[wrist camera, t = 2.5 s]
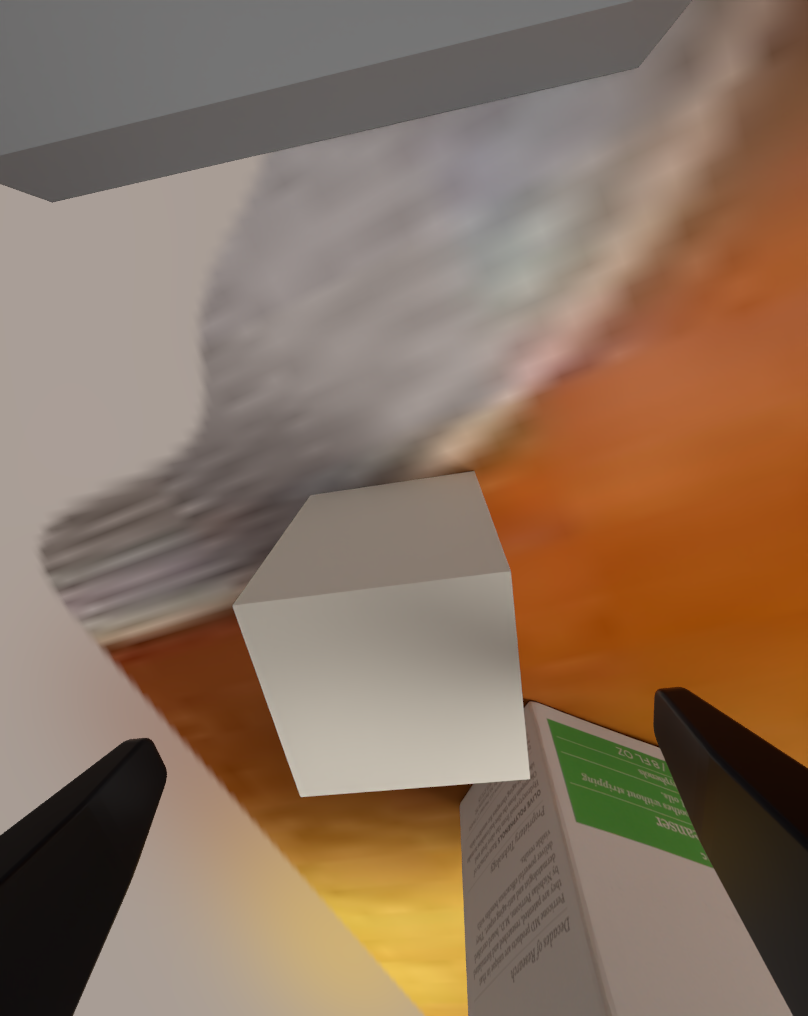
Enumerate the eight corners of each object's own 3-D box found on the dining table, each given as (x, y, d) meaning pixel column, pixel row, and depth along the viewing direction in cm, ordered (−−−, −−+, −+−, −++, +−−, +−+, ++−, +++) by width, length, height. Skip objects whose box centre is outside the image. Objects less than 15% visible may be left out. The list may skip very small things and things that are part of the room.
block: (474, 470, 13) (510, 570, 8) (490, 612, 15) (530, 779, 9) (310, 494, 14) (231, 605, 8) (345, 629, 15) (300, 797, 10)
